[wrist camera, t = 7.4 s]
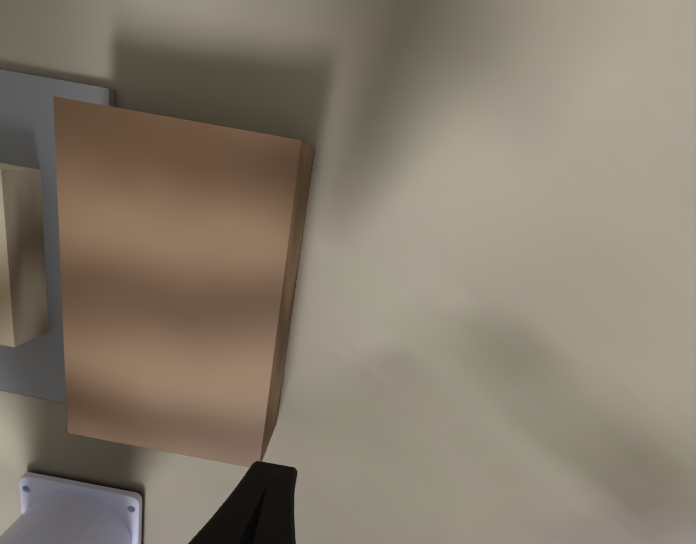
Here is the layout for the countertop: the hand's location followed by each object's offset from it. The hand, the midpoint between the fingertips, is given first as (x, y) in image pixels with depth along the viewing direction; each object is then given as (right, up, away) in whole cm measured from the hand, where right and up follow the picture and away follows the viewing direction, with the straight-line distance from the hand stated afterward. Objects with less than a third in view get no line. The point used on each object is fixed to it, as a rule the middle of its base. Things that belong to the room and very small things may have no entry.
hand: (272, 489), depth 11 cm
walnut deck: (-5, +6, +8) cm, 12 cm away
